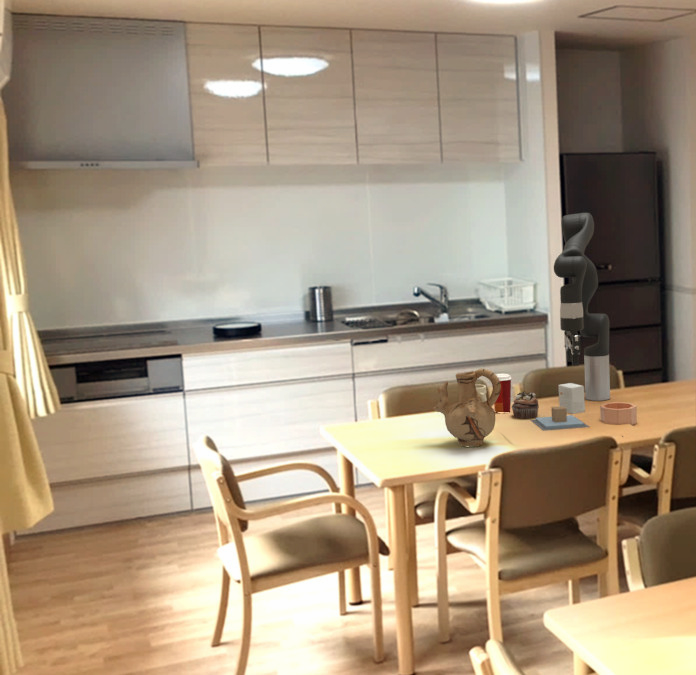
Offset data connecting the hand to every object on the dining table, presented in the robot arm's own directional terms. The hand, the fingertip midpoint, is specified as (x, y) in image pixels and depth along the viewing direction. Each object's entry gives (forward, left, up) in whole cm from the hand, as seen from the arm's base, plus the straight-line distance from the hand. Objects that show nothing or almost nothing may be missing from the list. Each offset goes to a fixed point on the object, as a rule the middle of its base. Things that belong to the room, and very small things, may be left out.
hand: (572, 363), depth 290 cm
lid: (-2, -5, -21) cm, 21 cm away
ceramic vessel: (+11, -39, -22) cm, 46 cm away
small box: (-19, +5, -22) cm, 29 cm away
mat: (-2, -5, -22) cm, 22 cm away
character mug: (-18, -30, -22) cm, 41 cm away
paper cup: (-30, -18, -22) cm, 41 cm away
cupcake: (-16, -13, -22) cm, 30 cm away
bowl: (0, +15, -22) cm, 27 cm away
